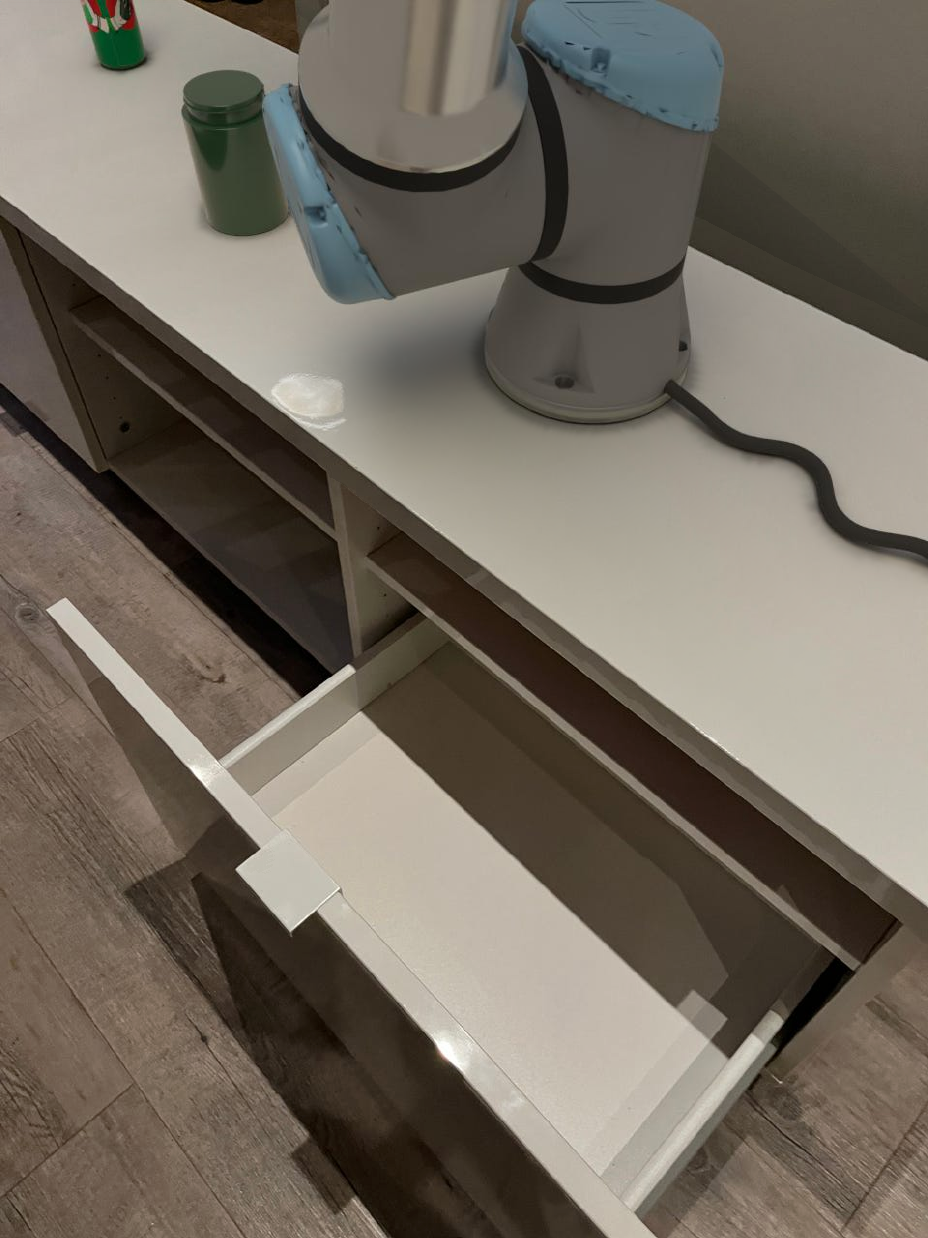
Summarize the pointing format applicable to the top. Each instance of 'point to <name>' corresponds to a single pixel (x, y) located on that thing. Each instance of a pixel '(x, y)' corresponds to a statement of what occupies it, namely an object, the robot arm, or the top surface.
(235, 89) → the jar
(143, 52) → the soda can
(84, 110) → the top surface
